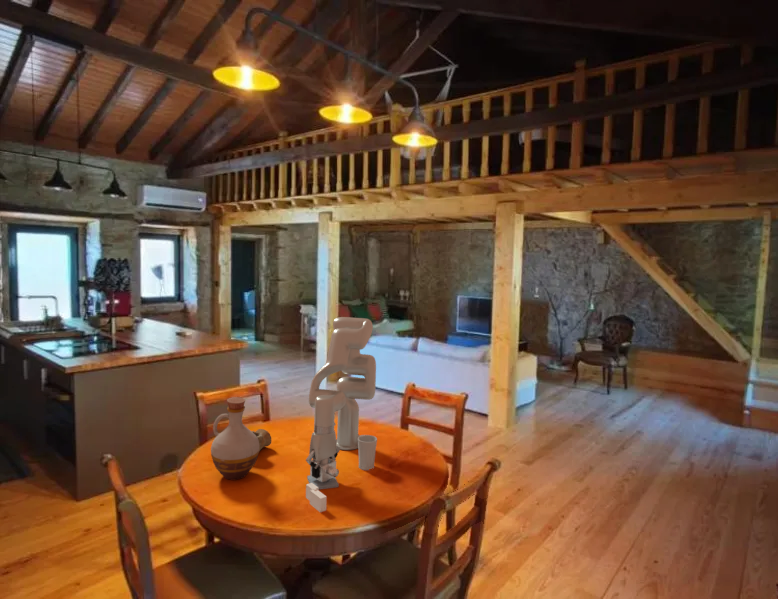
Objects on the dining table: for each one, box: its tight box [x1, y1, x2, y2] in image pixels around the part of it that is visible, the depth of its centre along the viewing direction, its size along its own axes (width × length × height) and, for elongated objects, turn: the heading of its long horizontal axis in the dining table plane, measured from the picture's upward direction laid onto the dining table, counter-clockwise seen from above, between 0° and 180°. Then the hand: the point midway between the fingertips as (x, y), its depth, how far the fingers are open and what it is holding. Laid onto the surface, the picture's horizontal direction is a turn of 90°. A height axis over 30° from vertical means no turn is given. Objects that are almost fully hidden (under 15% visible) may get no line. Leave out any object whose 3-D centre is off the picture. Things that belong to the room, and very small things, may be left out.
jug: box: [210, 396, 260, 481], centre depth 184 cm, size 20×18×30 cm
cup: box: [357, 434, 378, 471], centre depth 196 cm, size 8×8×12 cm
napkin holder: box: [305, 482, 327, 513], centre depth 166 cm, size 15×11×6 cm
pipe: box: [251, 428, 272, 452], centre depth 205 cm, size 9×16×10 cm, turn 170°
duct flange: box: [306, 458, 340, 490], centre depth 181 cm, size 10×10×10 cm
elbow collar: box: [309, 458, 340, 482], centre depth 180 cm, size 10×7×6 cm, turn 49°
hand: (322, 473), depth 181 cm, fingers open, 7 cm apart
